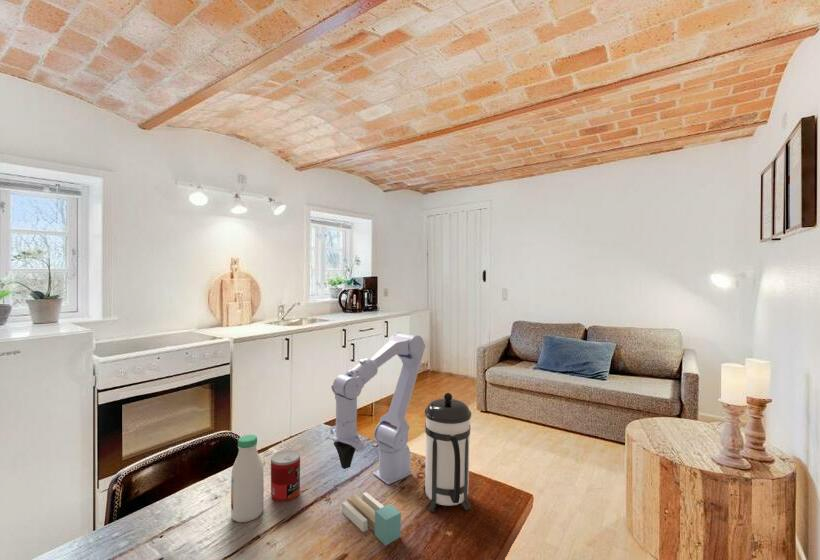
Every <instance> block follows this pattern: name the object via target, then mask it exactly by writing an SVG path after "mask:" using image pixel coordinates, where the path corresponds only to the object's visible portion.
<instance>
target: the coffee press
mask: <svg viewBox="0 0 820 560" xmlns="http://www.w3.org/2000/svg"><path fill="white" fill-rule="evenodd" d="M471 411H472V410H470V408H469V406H468V405H467V404H466V403H464V402H463V401H462V400H458V399H456V398H453V396H452V394H451V393H450V392H446V393H444V395H443V398H438V399H437V398H436V399H434V400H432V401H431V402H429V403H428V404H427V406H426V407H425V409H424V416H425V423H424V432H425V464H424V466H425V468H424V469H425V471H424V472H425V473H424V481H425V482H424V486H423V490H424V492H425V494H426V496H427V497H428V499H429V500H430V505H429V507H428V510H429V511H430V512H432V513H436V511H437V509H438V508H439V505H441V506H449V507H451V506H457V505H459V504H460V505H461V506H462V508H463V509H464V510H465V511H466V510H467V511H470V509H471V508H472V504H471V502H470V500H469V497H468V495H469V485H470V484H469V478H470V476H469V475H470V471H469V470H470V468H469V467H470V435H471V424H470V423H471V422H470V421H471V418H472V412H471Z"/></svg>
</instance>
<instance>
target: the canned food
mask: <svg viewBox="0 0 820 560" xmlns="http://www.w3.org/2000/svg"><path fill="white" fill-rule="evenodd" d="M270 458H271V459H270V496H271V498H272V499H273V500H274V501H276V502H279V503H281V502H282V503H284V502H290V501H292V500H294V499H296V498H297V497H298V495H299V494H300V490H301V455H300V452H299V451H297V450H293V449H284V450H280V451H277V452H274V453H273V454H272V455H271V457H270Z"/></svg>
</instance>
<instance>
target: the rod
mask: <svg viewBox="0 0 820 560" xmlns="http://www.w3.org/2000/svg"><path fill="white" fill-rule="evenodd" d="M346 501H347V502H348V503H349V504H350V505H351V506H352V507H353V508H354V509H356V510H357V511H358V512H359V513H360V514H361V515H362V516H363V517H365V518H366V519H367V527H369V528H370V529H371V530H372V531H373V532H374V533H375V511H374V510H373V509H372V508H371V507H370V506H369V505H367V504H366V503H365V502H364V501H363V500H362V498H361V497H359V496H358V495H357V494H356V493H355V494H352V495H350V496H348V497H347V498H346Z"/></svg>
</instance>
